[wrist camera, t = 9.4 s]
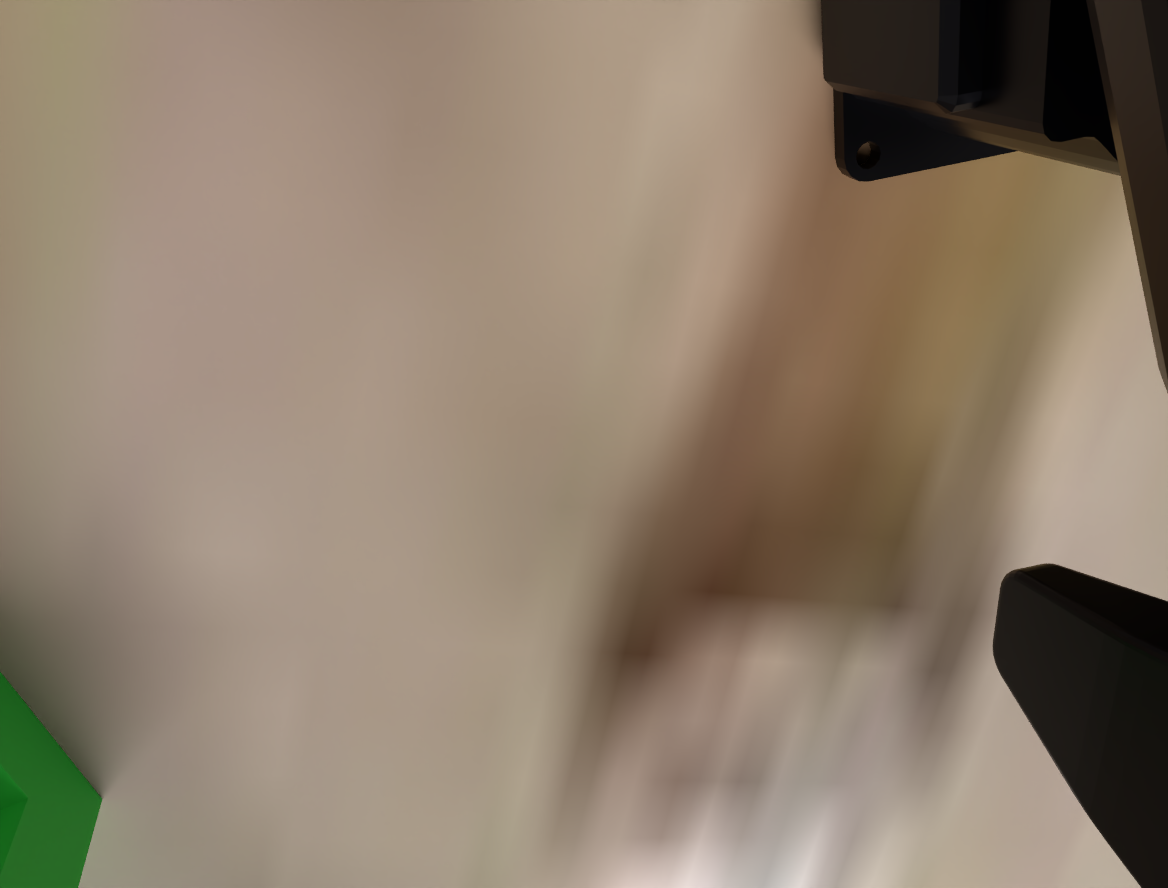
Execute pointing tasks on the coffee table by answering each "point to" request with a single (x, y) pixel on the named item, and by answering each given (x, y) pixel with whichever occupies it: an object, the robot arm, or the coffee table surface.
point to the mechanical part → (40, 803)
